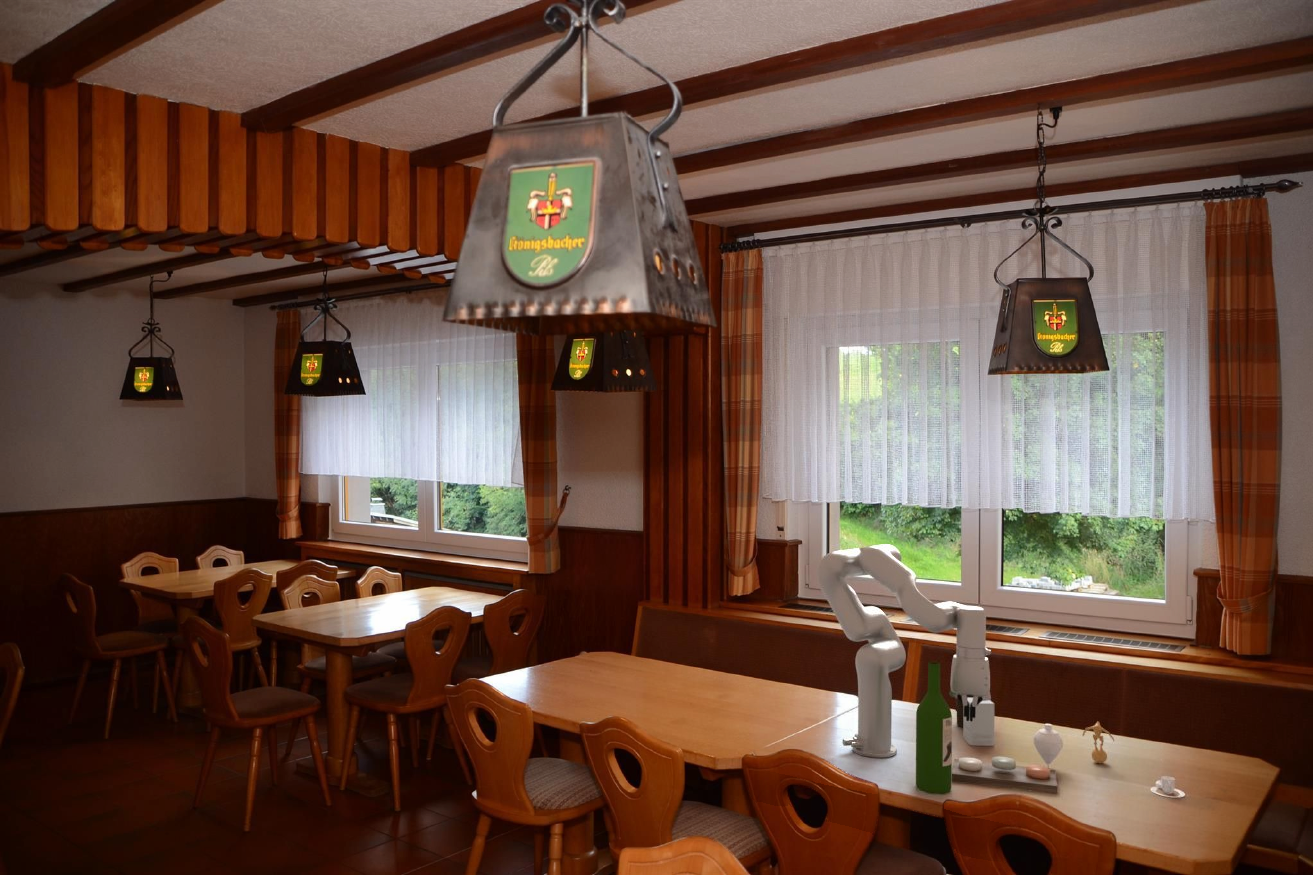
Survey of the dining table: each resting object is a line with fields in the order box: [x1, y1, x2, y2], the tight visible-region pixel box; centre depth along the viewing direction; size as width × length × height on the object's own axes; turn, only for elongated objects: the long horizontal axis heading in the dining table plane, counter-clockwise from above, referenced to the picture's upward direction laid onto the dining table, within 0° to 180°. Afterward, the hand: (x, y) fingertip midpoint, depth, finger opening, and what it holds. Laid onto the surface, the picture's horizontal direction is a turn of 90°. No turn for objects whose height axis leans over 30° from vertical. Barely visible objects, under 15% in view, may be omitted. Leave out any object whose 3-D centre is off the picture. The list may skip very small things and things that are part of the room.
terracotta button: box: [1025, 764, 1051, 779], centre depth 255 cm, size 6×6×2 cm
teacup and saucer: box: [1150, 775, 1186, 799], centre depth 249 cm, size 9×8×4 cm
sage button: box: [991, 756, 1017, 770], centre depth 258 cm, size 6×6×2 cm
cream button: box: [958, 757, 983, 771], centre depth 261 cm, size 6×6×2 cm
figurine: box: [1082, 721, 1115, 764], centre depth 271 cm, size 8×6×12 cm
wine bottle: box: [915, 661, 953, 795], centre depth 251 cm, size 9×9×32 cm
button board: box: [951, 758, 1058, 795], centre depth 258 cm, size 13×26×2 cm, turn 70°
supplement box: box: [962, 698, 995, 747], centre depth 290 cm, size 7×7×13 cm
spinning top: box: [1032, 723, 1064, 769], centre depth 268 cm, size 8×8×12 cm
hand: (969, 719), depth 261 cm, fingers closed
